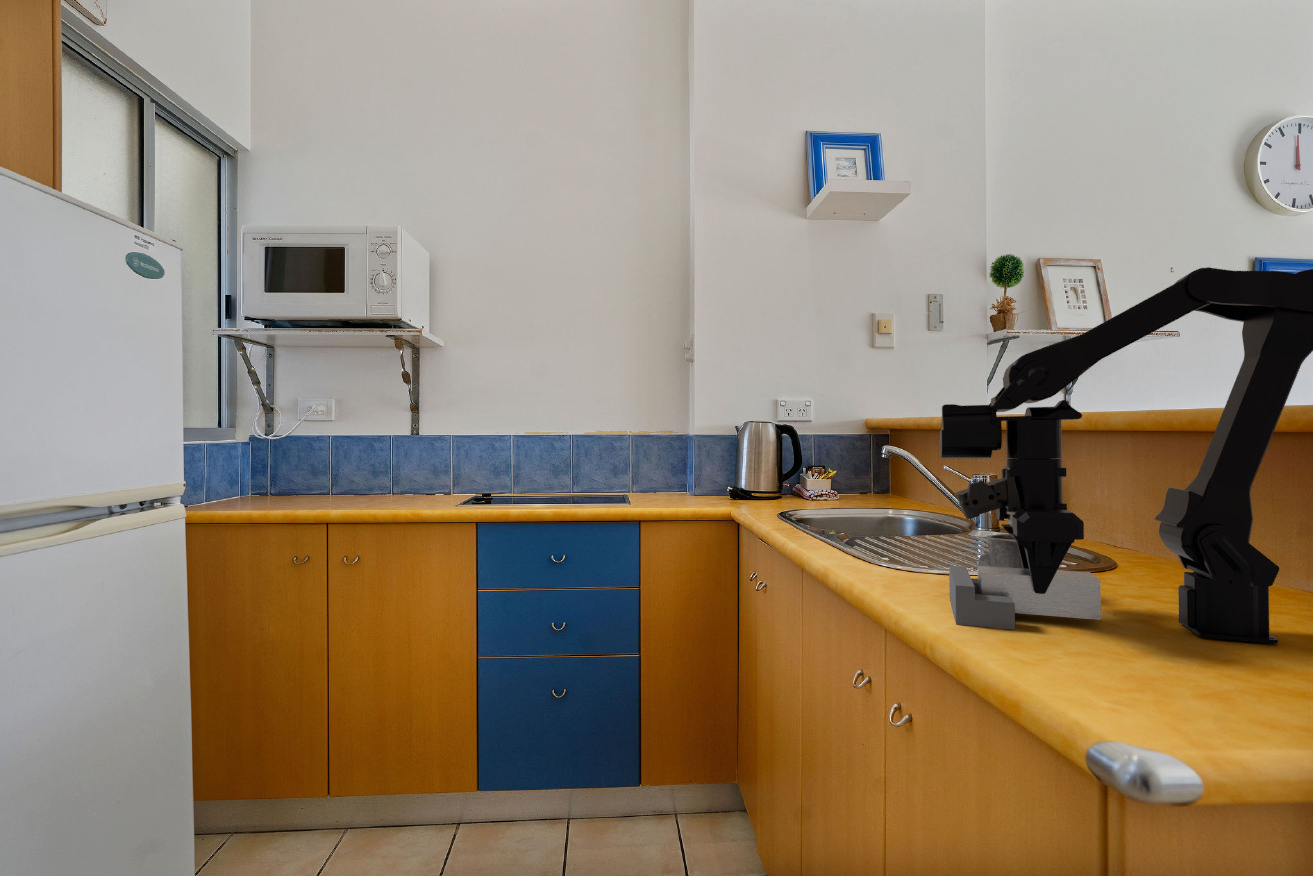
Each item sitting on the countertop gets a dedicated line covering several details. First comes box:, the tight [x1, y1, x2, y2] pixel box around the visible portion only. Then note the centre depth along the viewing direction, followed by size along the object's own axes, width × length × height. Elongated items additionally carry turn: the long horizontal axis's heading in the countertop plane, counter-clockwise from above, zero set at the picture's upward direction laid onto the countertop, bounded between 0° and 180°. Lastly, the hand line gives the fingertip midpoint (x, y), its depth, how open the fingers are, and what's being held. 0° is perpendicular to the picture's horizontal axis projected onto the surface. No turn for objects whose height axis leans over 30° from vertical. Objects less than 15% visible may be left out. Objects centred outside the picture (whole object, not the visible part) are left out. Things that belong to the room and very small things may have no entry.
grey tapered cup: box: [977, 533, 1023, 568], centre depth 91 cm, size 6×13×8 cm, turn 174°
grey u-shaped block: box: [948, 565, 1016, 630], centre depth 78 cm, size 6×12×4 cm, turn 158°
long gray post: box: [977, 565, 1102, 621], centre depth 75 cm, size 12×4×4 cm, turn 68°
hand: (1035, 588), depth 75 cm, fingers closed on long gray post, 4 cm apart
